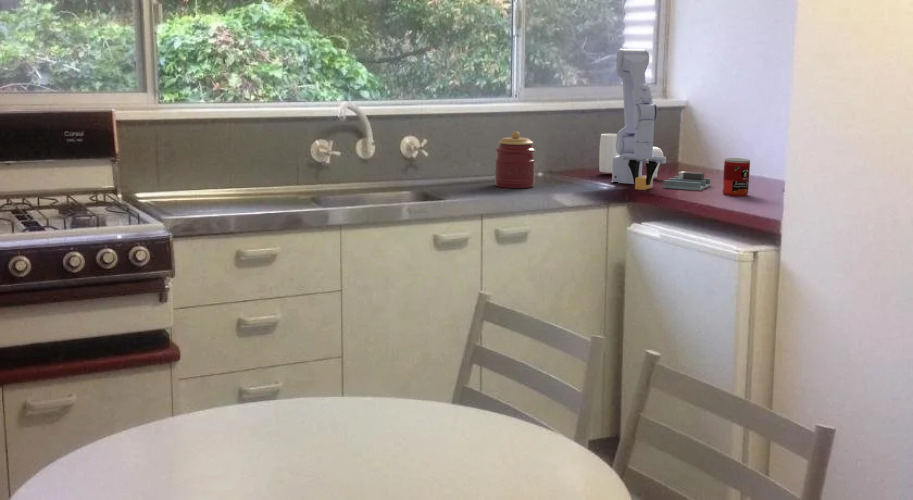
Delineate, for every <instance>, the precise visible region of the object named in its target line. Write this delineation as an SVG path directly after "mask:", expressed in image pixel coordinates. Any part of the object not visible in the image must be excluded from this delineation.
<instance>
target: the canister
mask: <svg viewBox="0 0 913 500" xmlns="http://www.w3.org/2000/svg"><path fill="white" fill-rule="evenodd" d="M497 143H498V146H497V147H496V148H494V149H495V151H496V157H495V175H494V183H495V186H496V187H498V188H499V187H500V188H506V189H529V188H534V187H535V183H536V177H535V176H536V175H535V173H536V161H537V160H536V159H535V152H536V151H537V149H536V148H534V147H533V144H534V141H533V140H531V139H530V138H528V137H521V134H520V132H519V131H517V130H514V131H513V132H512V133H511V136H510V137H507V136H506V137H503V138H502V139H500V140H498V141H497Z"/></svg>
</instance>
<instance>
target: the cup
mask: <svg viewBox="0 0 913 500" xmlns="http://www.w3.org/2000/svg"><path fill="white" fill-rule="evenodd" d="M616 140H617V133H601V134H600V138H599V155H598V157H599V158H598V159H599V161H598V162H599V165H598V167H599V168H598V169H599V172H600V173H607V174H612V167H613V159H614V157H615V156H620V155H619V154H618V153H617V151H616Z"/></svg>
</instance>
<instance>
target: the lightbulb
mask: <svg viewBox="0 0 913 500" xmlns="http://www.w3.org/2000/svg"><path fill="white" fill-rule="evenodd" d="M653 156H662V157H664V152H663V151H662V149H661V148H660V147H657V146H653ZM645 160H648V159H645ZM651 161H652V160H651ZM646 163H649V162H646ZM660 165H661V163H658V165H657V167H656V169H655V171H654V173H653V180H654V179H656V178H657V177H658V171H659V168H660Z"/></svg>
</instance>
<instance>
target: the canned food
mask: <svg viewBox="0 0 913 500" xmlns="http://www.w3.org/2000/svg"><path fill="white" fill-rule="evenodd" d="M750 171H751V159H748V158H741V157H739V158H738V157H729V158H728V157H727V158H724V163H723V178H722V181H723V182H722V195H724V196H727V195H729V196H728V197H747V196H748V193H749V184H750V182H749V181H750Z"/></svg>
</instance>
